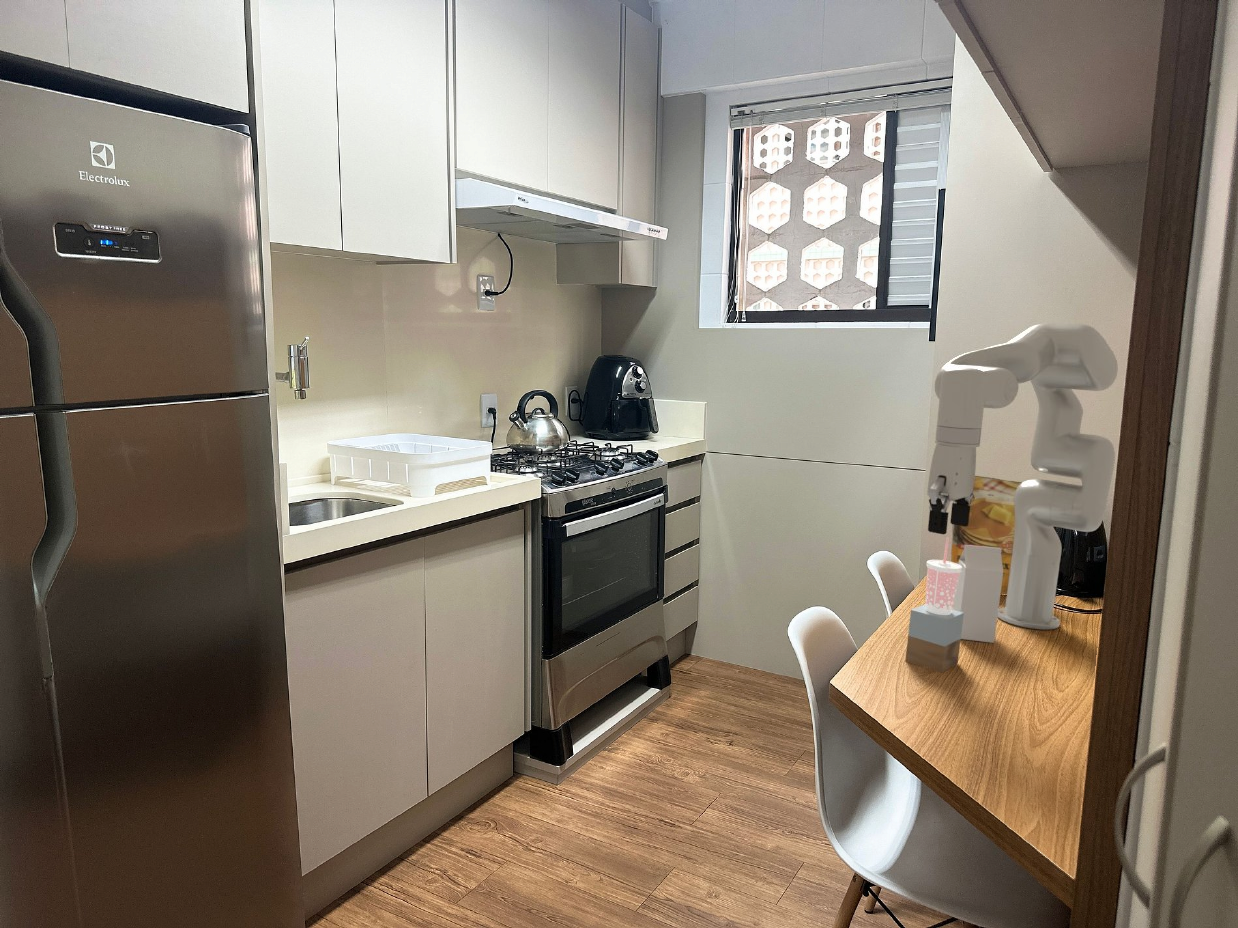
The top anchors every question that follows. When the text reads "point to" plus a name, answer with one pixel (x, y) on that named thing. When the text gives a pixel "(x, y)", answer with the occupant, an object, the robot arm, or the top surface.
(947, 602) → the beverage cup
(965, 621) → the milk carton
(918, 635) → the top block
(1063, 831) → the top surface
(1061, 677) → the top surface
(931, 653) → the bottom block
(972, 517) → the pancake mix bag
